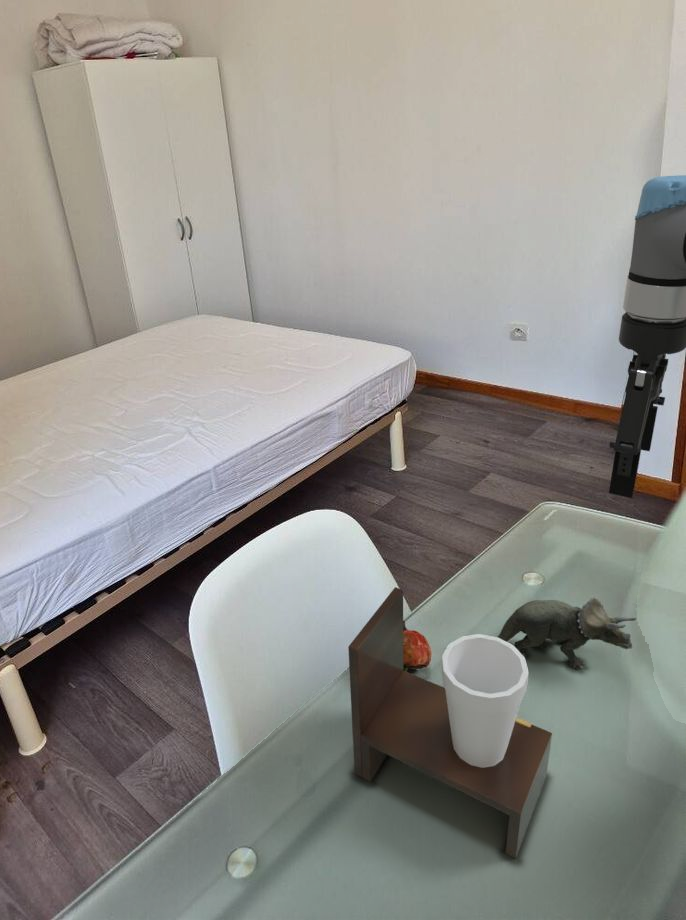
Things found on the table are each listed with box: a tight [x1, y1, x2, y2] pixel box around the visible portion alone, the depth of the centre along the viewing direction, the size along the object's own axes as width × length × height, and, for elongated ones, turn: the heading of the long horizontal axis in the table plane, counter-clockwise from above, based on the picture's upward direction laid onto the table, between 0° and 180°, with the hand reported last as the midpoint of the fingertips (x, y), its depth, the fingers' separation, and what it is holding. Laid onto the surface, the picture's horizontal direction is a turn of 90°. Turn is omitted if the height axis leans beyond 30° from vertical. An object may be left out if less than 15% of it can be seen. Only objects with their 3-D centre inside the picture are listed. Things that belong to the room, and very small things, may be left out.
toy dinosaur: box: [497, 596, 637, 670], centre depth 103 cm, size 22×8×11 cm, turn 73°
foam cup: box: [440, 633, 530, 768], centre depth 80 cm, size 10×9×13 cm
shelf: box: [348, 586, 553, 860], centre depth 83 cm, size 21×12×22 cm, turn 57°
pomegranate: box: [403, 620, 432, 672], centre depth 103 cm, size 7×7×10 cm
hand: (630, 470), depth 91 cm, fingers open, 13 cm apart
